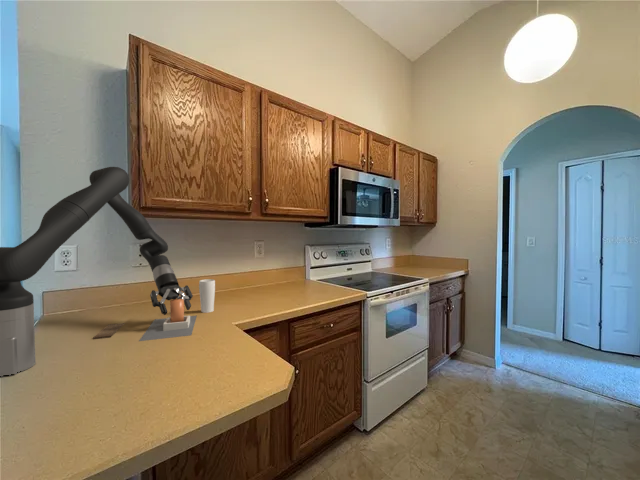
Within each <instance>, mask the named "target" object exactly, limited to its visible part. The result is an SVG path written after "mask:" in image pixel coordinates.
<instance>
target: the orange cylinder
mask: <svg viewBox="0 0 640 480" xmlns="http://www.w3.org/2000/svg"><path fill="white" fill-rule="evenodd" d="M169 301H170V303H169V304H170V307H169V308H170V311H169V312H170V317H171V323H174V322H184V316H185V304H184V299H177V298H176V299H171V300H169Z"/></svg>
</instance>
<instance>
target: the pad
mask: <svg viewBox="0 0 640 480" xmlns="http://www.w3.org/2000/svg"><path fill="white" fill-rule="evenodd" d="M125 324H126V323H125V322H124V323H123V322H122V323H110V324H107V325H106V326H105V327H104V328H103V329H101V330H100V331H99V332H98V333H97V334H96V335H94V336H93V340H94V339H95V340H97V339H106V338H107V339H108V338H112V337H113V336H114V335H115V334H116V333H117V332H118V331H119V330H120V329H121V328H122V327H123V326H124V325H125Z"/></svg>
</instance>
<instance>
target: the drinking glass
mask: <svg viewBox="0 0 640 480" xmlns="http://www.w3.org/2000/svg"><path fill="white" fill-rule="evenodd" d="M198 282H199V283H198V284H199V285H198V289H199V290H198V291H199V299H200V301H199V302H200V311H201V312H200V313H204V314H207V313H212V312H214V311H215V295H216V280H215V279H210V278H209V279H208V278H207V279H200V280H199V281H198Z"/></svg>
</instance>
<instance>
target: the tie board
mask: <svg viewBox="0 0 640 480" xmlns="http://www.w3.org/2000/svg"><path fill="white" fill-rule="evenodd" d="M196 320H197V315H184V322H174V323H171V316H168V317H166V318H155V319H154V320H153V321H152V322H151V324H150V325H149V326H148V328H147V329H146V331H145V332H144V333H143V335H142V336H141V337H140V339H139V340H138V342H144V341H145V342H146V341H152V340H162V339H171V338H179V337H189V336H192V335H193V331H194V327H195V323H196Z"/></svg>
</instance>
